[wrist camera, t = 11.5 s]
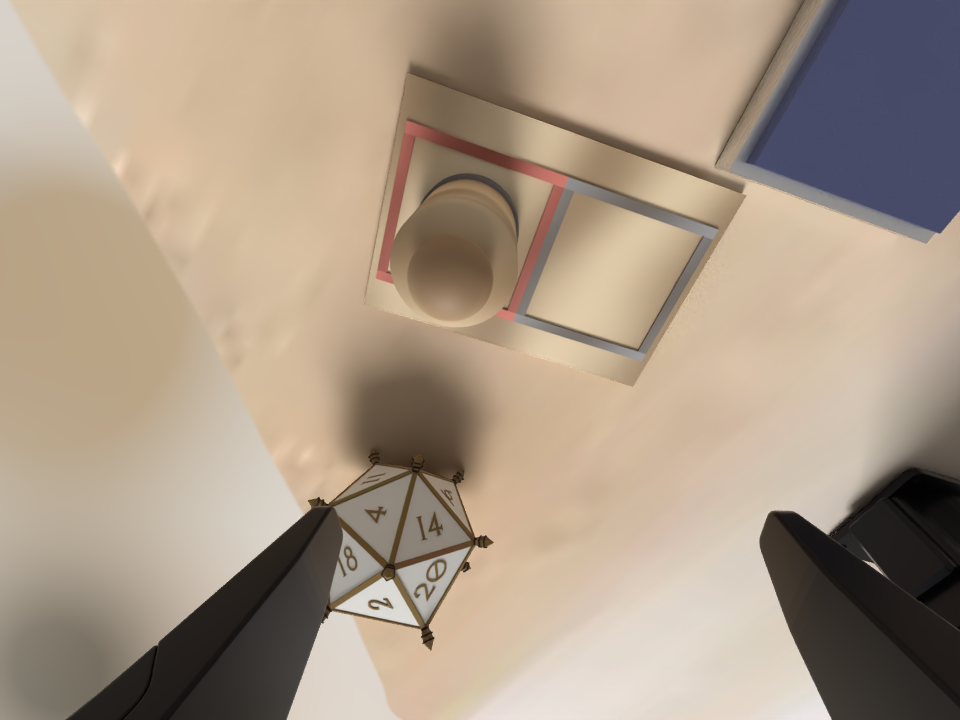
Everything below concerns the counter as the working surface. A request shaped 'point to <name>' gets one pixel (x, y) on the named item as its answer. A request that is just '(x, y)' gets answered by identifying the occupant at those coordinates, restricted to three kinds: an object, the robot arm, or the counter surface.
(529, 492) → the counter surface
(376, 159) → the counter surface
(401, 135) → the card sheet
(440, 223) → the stamp
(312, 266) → the counter surface
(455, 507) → the game die
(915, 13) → the ink pad
